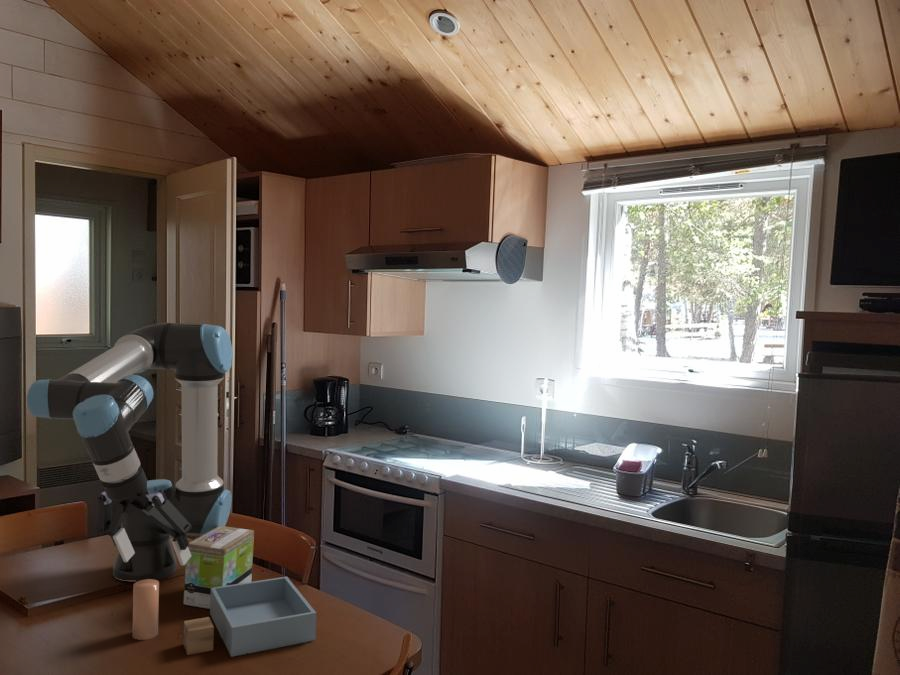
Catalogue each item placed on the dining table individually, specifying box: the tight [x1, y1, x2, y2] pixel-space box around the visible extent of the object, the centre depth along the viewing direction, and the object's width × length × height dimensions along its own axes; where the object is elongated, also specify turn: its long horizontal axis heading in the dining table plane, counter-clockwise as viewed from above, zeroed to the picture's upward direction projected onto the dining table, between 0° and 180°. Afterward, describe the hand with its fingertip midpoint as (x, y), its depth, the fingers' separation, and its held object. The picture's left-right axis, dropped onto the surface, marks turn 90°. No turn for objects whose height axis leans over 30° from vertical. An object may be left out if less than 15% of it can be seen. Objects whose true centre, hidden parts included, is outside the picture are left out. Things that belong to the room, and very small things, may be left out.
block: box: [183, 616, 215, 656], centre depth 151 cm, size 5×5×5 cm
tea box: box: [183, 525, 255, 610], centre depth 176 cm, size 15×10×15 cm, turn 168°
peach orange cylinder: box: [132, 579, 160, 641], centre depth 155 cm, size 5×5×11 cm
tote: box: [209, 576, 317, 658], centre depth 161 cm, size 22×18×6 cm
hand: (157, 559), depth 148 cm, fingers open, 13 cm apart
